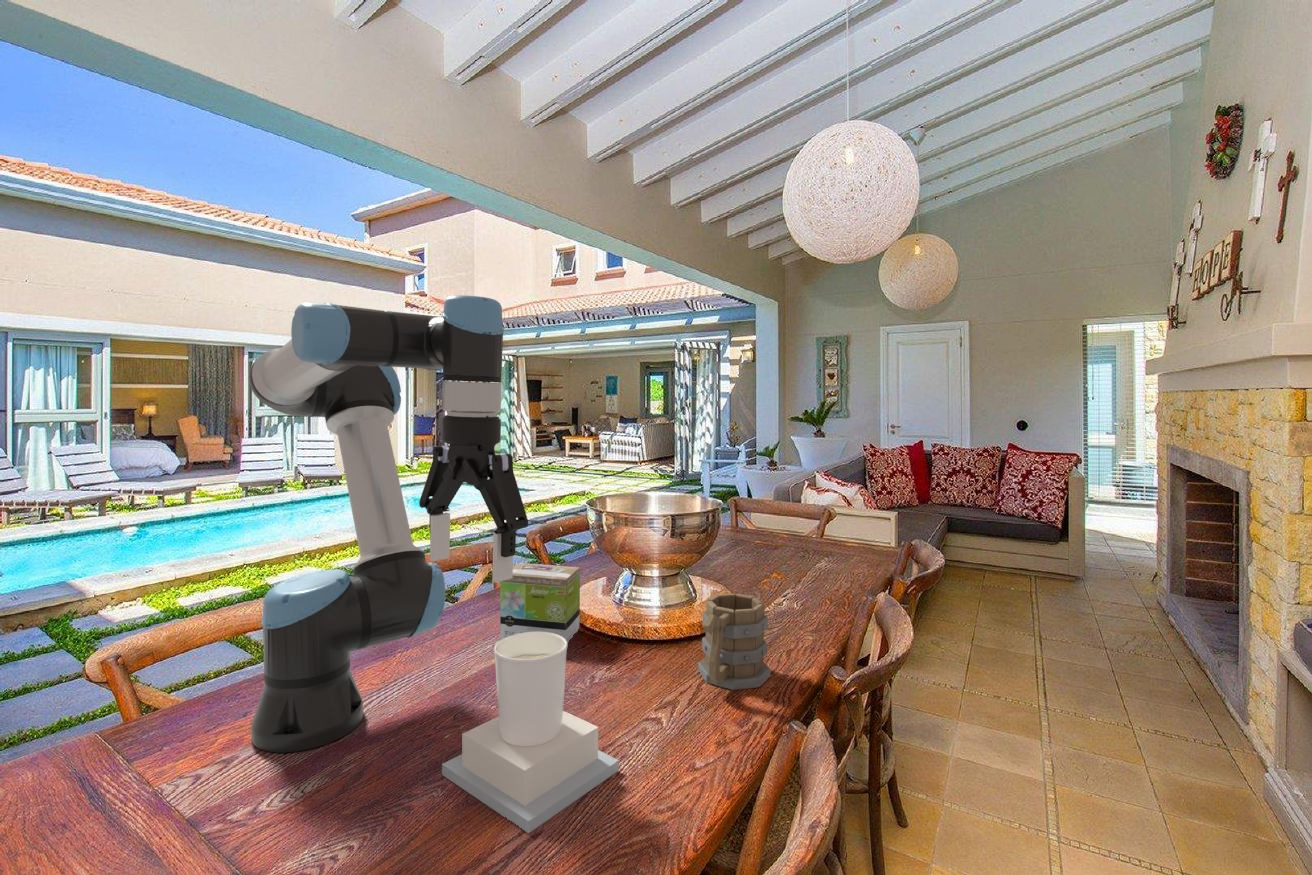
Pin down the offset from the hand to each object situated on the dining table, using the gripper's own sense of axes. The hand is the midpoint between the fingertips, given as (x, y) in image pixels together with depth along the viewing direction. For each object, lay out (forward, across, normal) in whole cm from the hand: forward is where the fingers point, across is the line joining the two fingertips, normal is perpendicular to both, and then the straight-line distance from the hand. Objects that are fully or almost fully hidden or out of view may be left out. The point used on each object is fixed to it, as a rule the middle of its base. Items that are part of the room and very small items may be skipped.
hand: (469, 569), depth 84 cm
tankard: (+28, -16, -45) cm, 55 cm away
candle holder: (+22, -9, -4) cm, 24 cm away
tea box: (+30, +27, -40) cm, 56 cm away
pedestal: (+28, -9, -4) cm, 29 cm away
